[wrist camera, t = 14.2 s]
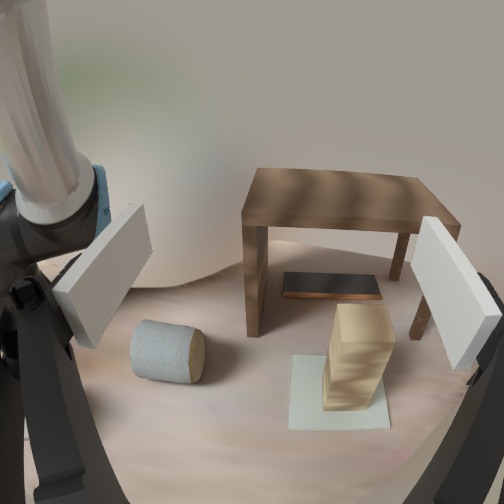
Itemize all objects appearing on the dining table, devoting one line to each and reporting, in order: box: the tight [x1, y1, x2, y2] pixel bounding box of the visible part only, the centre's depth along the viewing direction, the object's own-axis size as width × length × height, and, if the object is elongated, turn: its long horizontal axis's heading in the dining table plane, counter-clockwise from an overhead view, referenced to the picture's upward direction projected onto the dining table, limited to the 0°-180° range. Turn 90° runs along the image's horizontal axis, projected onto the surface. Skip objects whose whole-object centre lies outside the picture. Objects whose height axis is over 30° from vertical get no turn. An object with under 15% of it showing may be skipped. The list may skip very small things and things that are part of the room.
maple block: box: [322, 304, 396, 411], centre depth 31 cm, size 5×5×12 cm
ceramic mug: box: [130, 320, 205, 384], centre depth 38 cm, size 10×8×7 cm
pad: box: [288, 354, 390, 431], centre depth 34 cm, size 12×11×1 cm
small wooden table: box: [241, 168, 461, 340], centre depth 44 cm, size 25×16×18 cm, turn 83°
